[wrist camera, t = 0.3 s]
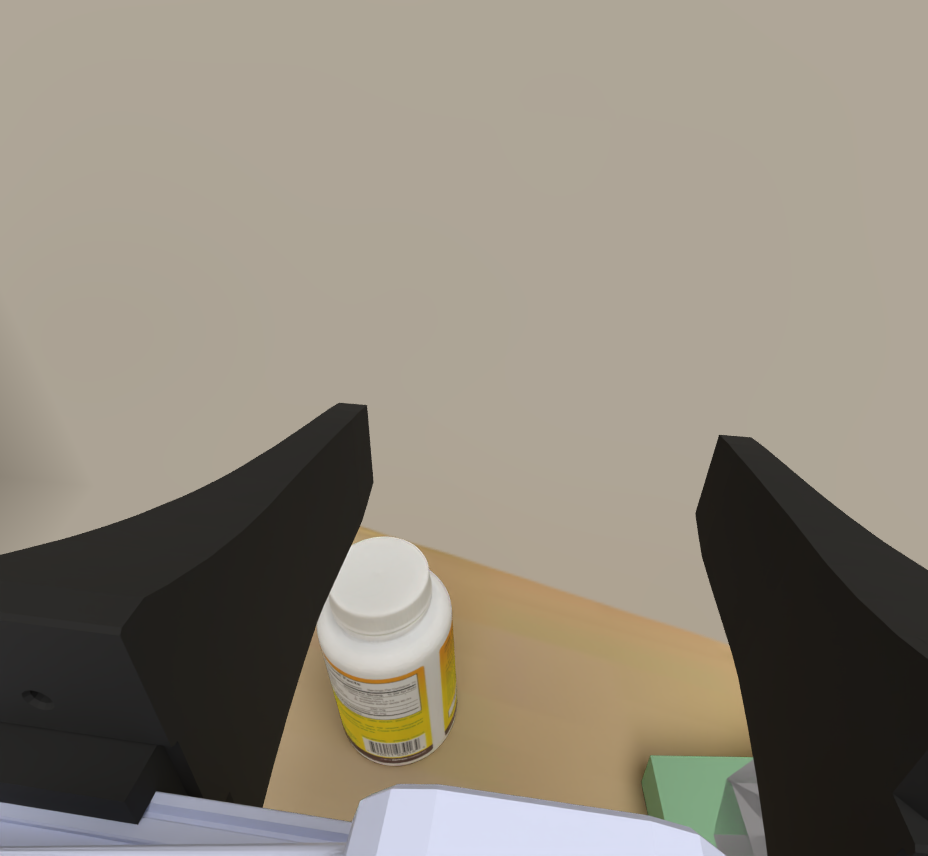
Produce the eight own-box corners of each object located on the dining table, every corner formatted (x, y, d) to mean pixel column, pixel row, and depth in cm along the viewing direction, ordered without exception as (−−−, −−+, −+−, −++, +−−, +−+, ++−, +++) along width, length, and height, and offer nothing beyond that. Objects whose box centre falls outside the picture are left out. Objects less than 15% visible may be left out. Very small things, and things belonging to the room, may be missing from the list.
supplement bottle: (412, 641, 32) (396, 502, 26) (481, 717, 29) (480, 577, 23) (321, 706, 29) (279, 567, 23) (385, 800, 26) (355, 664, 20)
